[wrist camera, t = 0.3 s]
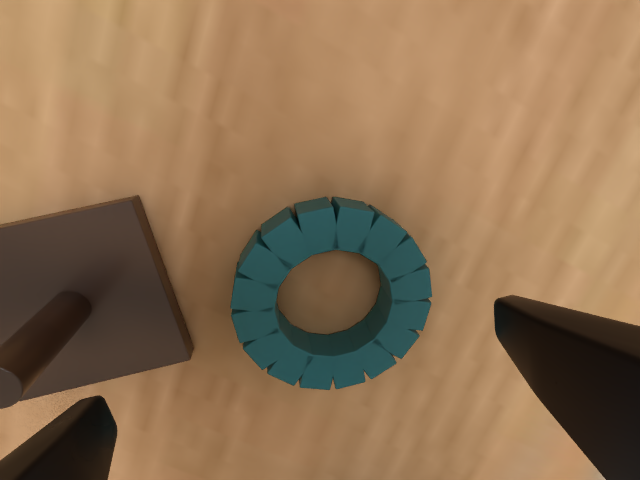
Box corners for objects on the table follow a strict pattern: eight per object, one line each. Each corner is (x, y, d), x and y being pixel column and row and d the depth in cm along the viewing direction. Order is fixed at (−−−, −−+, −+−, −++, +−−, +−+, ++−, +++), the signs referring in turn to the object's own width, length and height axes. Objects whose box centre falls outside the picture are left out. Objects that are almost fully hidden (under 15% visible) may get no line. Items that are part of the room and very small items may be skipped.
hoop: (424, 341, 27) (439, 363, 24) (260, 382, 26) (259, 409, 24) (405, 178, 23) (421, 186, 20) (211, 221, 22) (205, 234, 20)
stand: (193, 348, 24) (164, 450, 17) (30, 387, 24) (-72, 510, 16) (138, 194, 21) (72, 241, 14) (-54, 236, 20) (-230, 307, 13)
